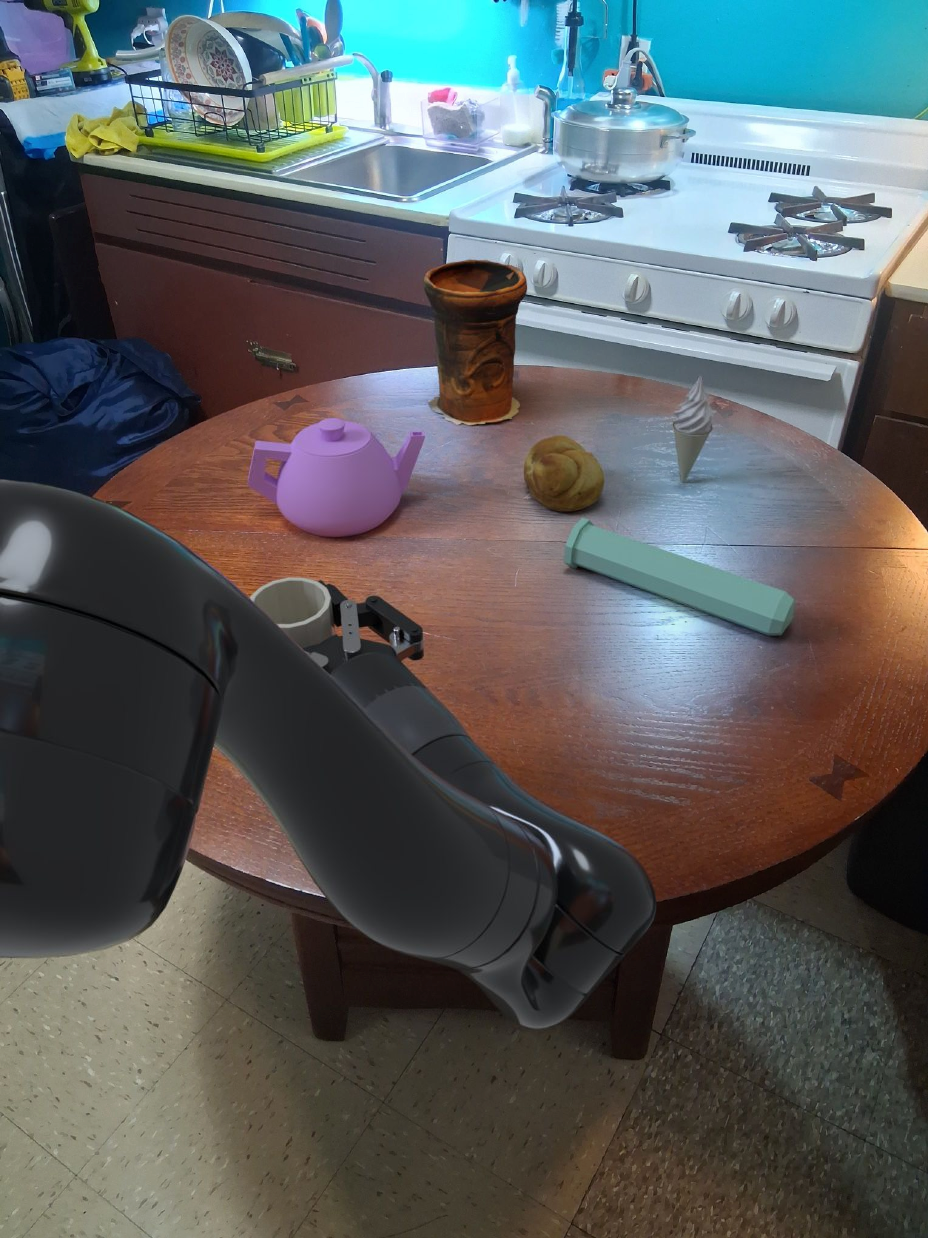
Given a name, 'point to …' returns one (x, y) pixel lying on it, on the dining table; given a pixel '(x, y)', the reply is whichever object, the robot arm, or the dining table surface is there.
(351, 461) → the teapot
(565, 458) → the bread roll
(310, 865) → the robot arm
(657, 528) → the dining table surface
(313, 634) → the tumbler
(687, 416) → the ice cream cone
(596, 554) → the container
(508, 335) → the vessel
